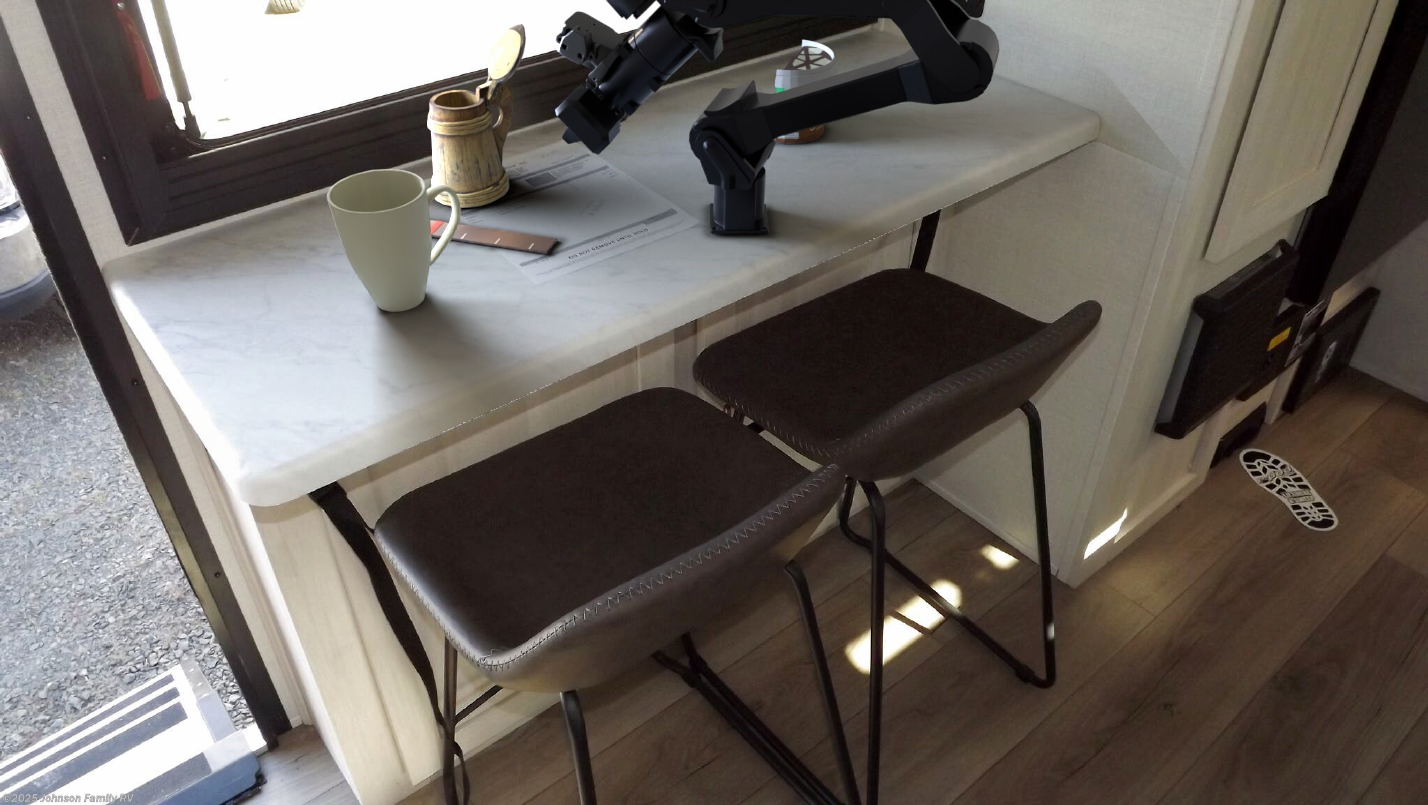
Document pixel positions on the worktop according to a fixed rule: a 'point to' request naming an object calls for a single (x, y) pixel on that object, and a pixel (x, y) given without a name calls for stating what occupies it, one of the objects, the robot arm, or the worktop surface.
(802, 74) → the food container
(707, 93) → the worktop surface
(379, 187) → the mug
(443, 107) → the wooden mug
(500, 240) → the ruler
